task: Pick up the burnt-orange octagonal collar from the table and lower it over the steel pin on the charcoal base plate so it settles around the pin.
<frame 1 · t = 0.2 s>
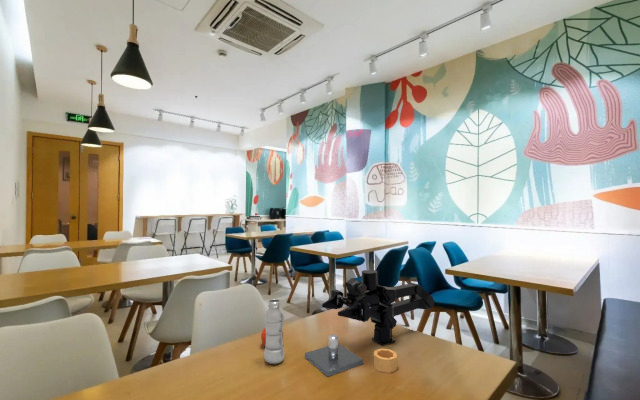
hand: (329, 309, 100), 17 cm above the table, tool horizontal, fingers open, 9 cm apart
apple: (272, 346, 110), on the table
piston stand: (333, 360, 99), on the table
plastic bottle: (274, 362, 98), on the table
collar: (385, 366, 95), on the table
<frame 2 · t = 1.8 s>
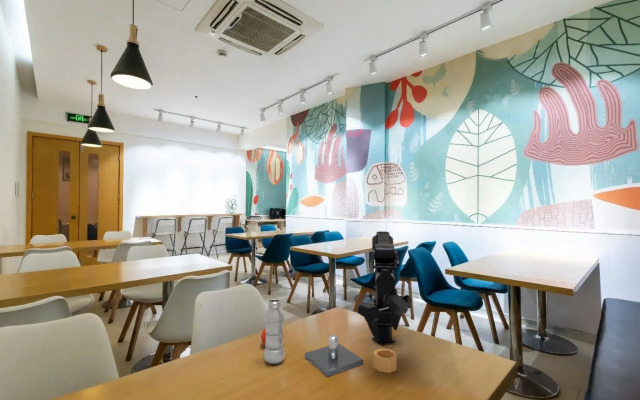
hand: (384, 333, 96), 11 cm above the table, tool pointing down, fingers open, 9 cm apart
nothing on the table moved.
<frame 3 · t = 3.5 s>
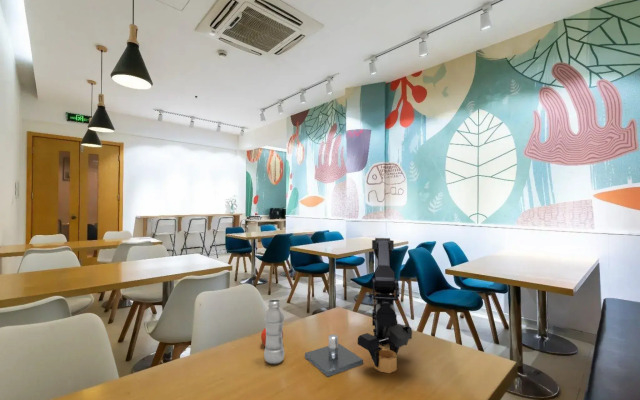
hand: (385, 363, 95), 1 cm above the table, tool pointing down, fingers closed on collar, 7 cm apart
collar: (385, 366, 95), on the table, touching gripper
everything else where it was.
when the fingers open (4 cm above the table, at t = 9.4 s): collar drops 1 cm, resting on piston stand.
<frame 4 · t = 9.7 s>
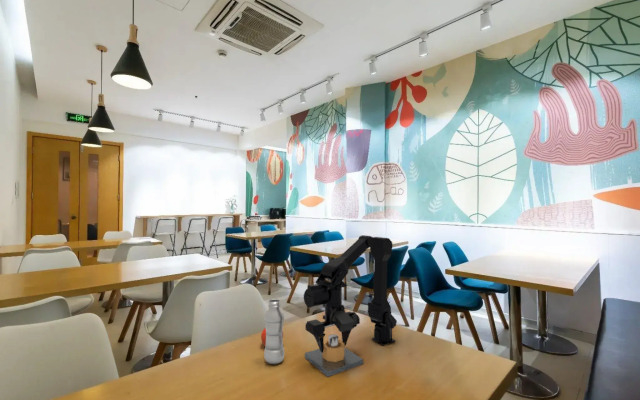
hand: (333, 348, 99), 4 cm above the table, tool pointing down, fingers open, 9 cm apart
collar: (333, 356, 99), point 1 cm above the table, touching piston stand
everything else where it was.
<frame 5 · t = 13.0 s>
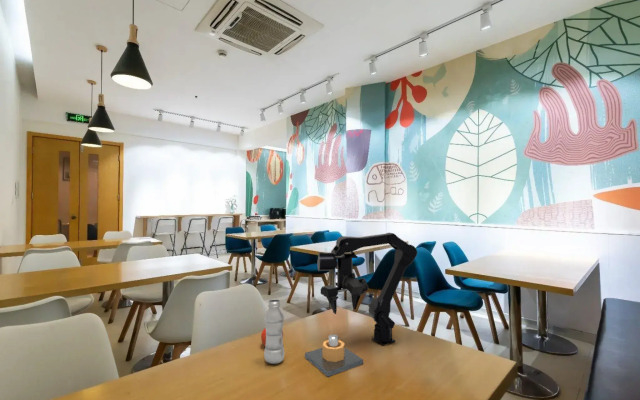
hand: (344, 311, 112), 12 cm above the table, tool pointing down, fingers open, 9 cm apart
nothing on the table moved.
at the end: collar 0.1 cm off-centre on the piston stand, point 1.5 cm above the piston stand's base; collar tilted 0°; the gripper is holding nothing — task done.
